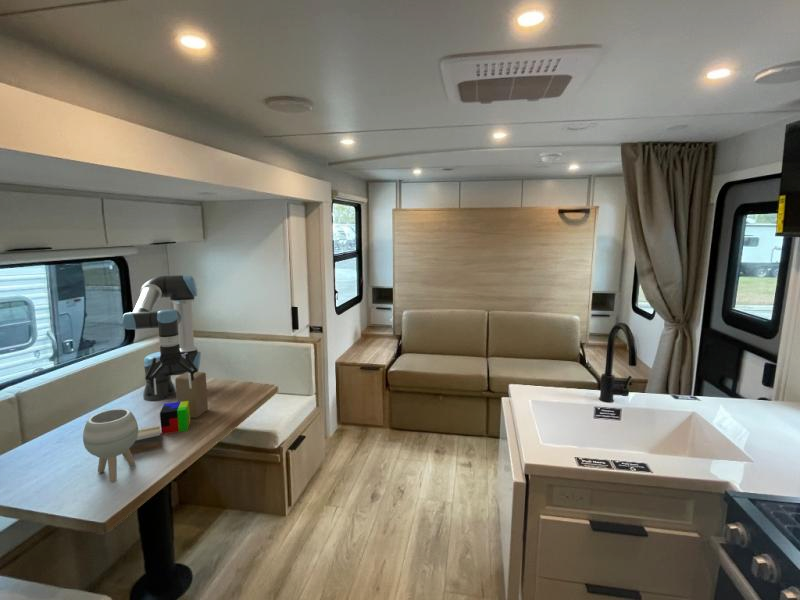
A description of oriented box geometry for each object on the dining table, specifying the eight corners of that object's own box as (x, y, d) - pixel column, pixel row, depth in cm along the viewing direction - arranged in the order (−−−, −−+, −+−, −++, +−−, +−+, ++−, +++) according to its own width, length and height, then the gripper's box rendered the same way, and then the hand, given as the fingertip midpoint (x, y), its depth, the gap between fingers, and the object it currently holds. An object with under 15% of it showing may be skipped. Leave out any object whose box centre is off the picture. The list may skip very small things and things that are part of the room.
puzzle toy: (166, 424, 184) (164, 403, 182) (190, 420, 187) (188, 400, 185) (161, 434, 174) (159, 412, 173) (187, 430, 178) (185, 409, 176)
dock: (124, 439, 169) (123, 427, 168) (160, 432, 176) (158, 420, 175) (123, 456, 157) (121, 443, 156) (161, 447, 164) (160, 435, 163)
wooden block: (209, 409, 198) (206, 371, 195) (197, 419, 189) (194, 379, 185) (190, 408, 199) (187, 370, 196) (177, 417, 190) (174, 377, 186)
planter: (85, 472, 146) (78, 415, 143) (136, 455, 157) (131, 402, 154) (91, 492, 135) (84, 431, 131) (146, 473, 146) (141, 416, 142)
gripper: (135, 350, 164) (140, 399, 168) (202, 342, 178) (205, 387, 181) (135, 346, 171) (140, 393, 174) (200, 339, 184) (203, 382, 187)
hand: (173, 390), depth 178 cm, fingers open, 13 cm apart
